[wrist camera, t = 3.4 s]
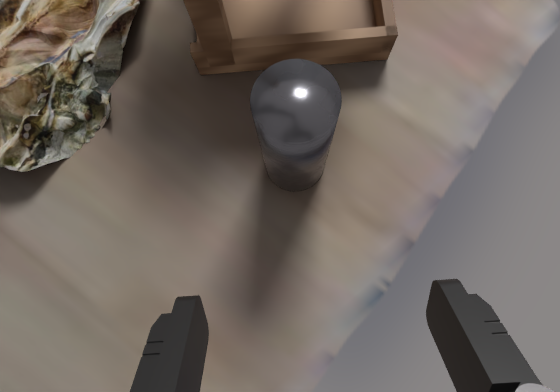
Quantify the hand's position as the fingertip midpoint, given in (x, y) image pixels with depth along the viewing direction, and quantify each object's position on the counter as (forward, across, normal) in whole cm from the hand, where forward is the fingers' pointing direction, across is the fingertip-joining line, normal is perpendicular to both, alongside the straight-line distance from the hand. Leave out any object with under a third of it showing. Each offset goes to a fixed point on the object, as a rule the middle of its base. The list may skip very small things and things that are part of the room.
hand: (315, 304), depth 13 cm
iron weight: (+16, 0, +2) cm, 16 cm away
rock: (+24, +18, -5) cm, 31 cm away
